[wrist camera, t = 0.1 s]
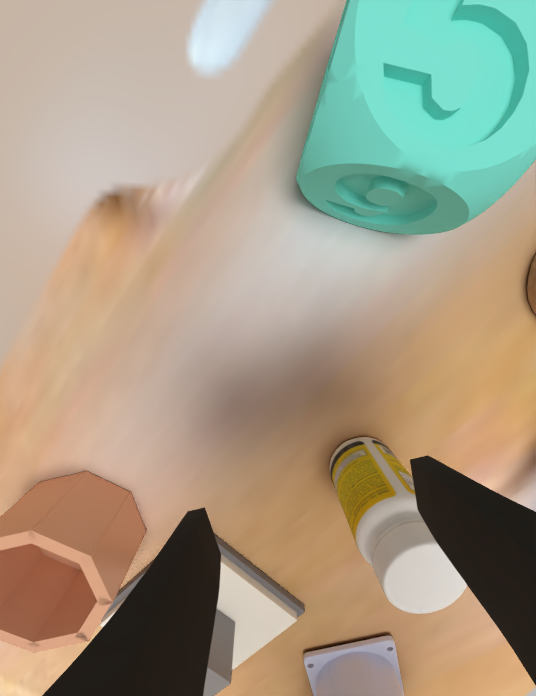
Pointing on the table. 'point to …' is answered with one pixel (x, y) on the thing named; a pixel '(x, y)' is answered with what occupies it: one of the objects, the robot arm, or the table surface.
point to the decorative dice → (423, 113)
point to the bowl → (64, 559)
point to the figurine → (532, 285)
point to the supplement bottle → (392, 527)
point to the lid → (238, 623)
